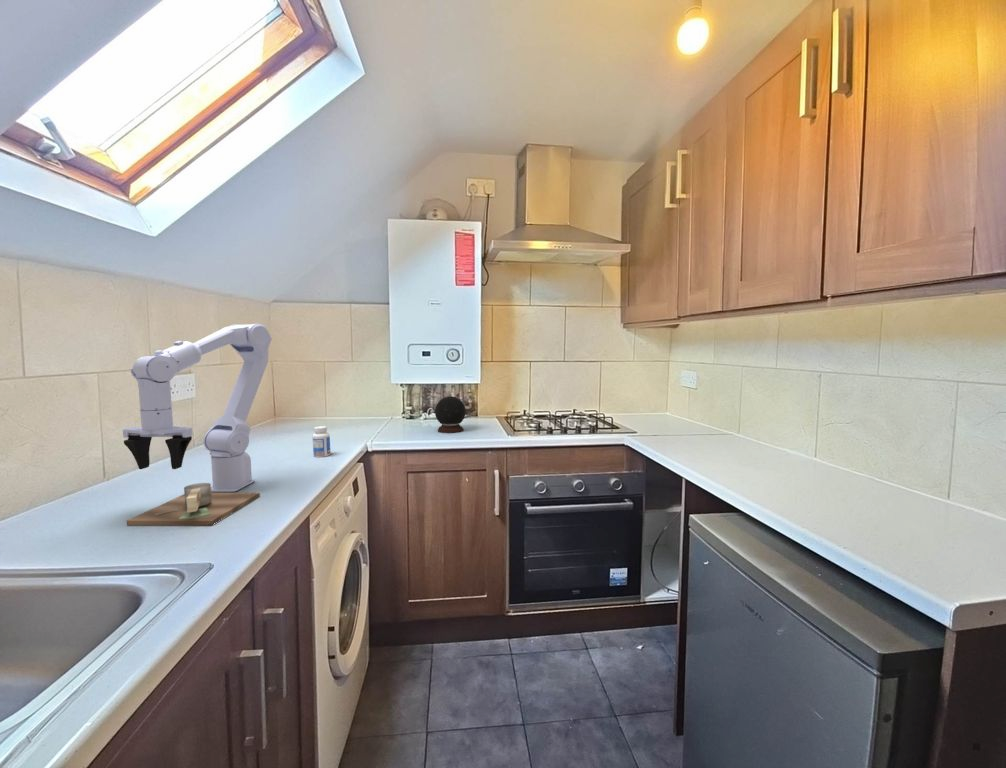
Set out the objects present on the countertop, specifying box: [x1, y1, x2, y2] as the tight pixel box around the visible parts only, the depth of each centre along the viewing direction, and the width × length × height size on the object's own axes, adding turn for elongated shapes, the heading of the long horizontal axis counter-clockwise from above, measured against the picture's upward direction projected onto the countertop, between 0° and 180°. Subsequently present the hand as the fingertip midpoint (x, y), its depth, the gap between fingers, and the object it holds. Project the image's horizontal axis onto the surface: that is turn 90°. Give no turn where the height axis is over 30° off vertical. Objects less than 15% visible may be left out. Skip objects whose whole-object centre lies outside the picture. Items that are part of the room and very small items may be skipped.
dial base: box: [126, 492, 261, 526], centre depth 104 cm, size 18×18×1 cm
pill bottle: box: [312, 425, 331, 458], centre depth 154 cm, size 6×5×10 cm
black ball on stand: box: [434, 396, 467, 434], centre depth 197 cm, size 13×13×15 cm
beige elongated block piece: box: [183, 482, 212, 513], centre depth 100 cm, size 12×5×4 cm, turn 27°
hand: (160, 468), depth 104 cm, fingers open, 7 cm apart
